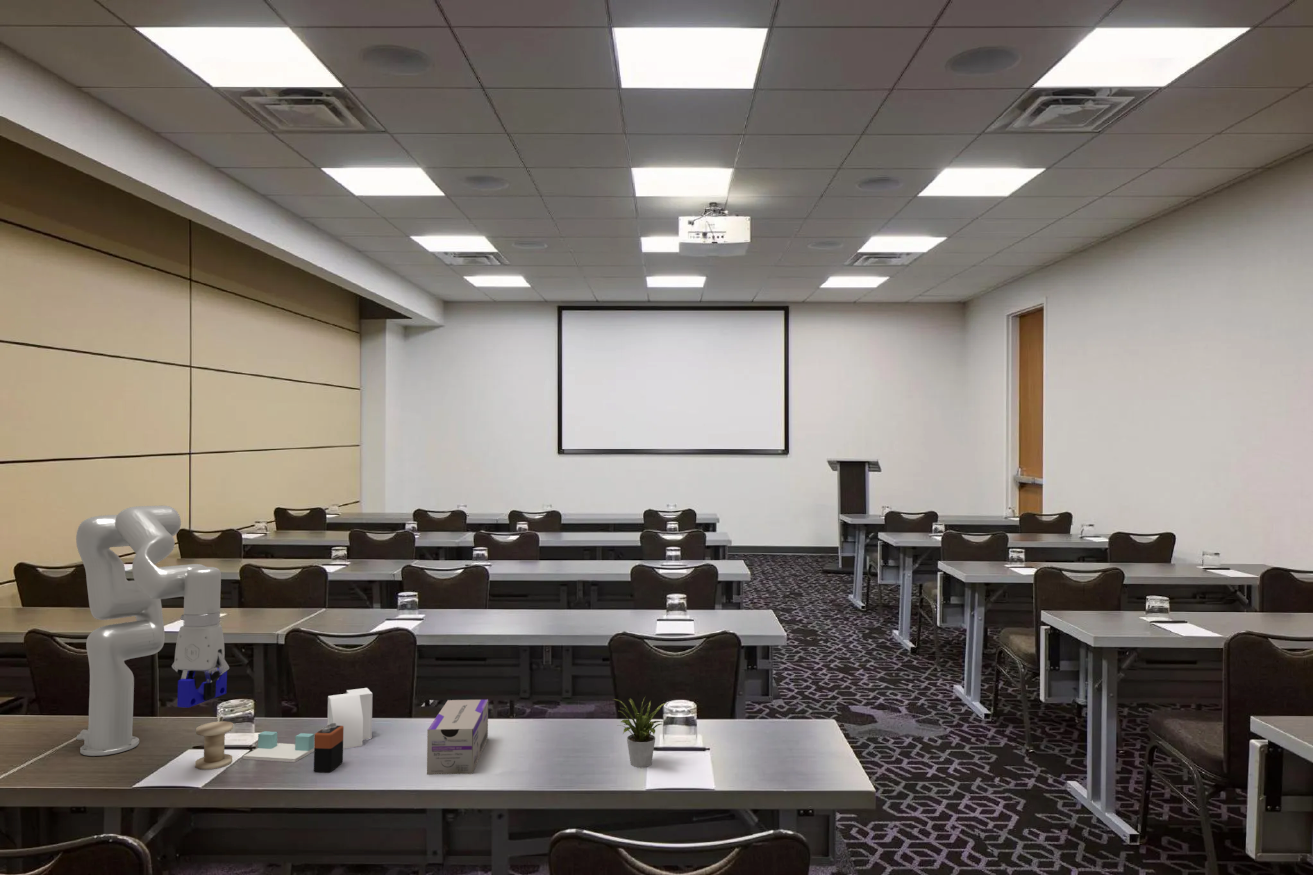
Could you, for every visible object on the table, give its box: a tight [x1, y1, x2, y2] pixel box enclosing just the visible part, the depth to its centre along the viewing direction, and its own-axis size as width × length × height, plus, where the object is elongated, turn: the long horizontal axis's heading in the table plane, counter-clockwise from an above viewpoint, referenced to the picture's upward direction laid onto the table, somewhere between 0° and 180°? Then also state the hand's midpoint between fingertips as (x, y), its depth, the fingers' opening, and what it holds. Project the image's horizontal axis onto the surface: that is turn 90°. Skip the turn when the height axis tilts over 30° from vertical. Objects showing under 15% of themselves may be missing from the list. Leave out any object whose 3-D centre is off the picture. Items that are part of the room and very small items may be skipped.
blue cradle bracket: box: [176, 667, 228, 708], centre depth 191 cm, size 12×4×6 cm, turn 169°
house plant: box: [613, 695, 668, 768], centre depth 199 cm, size 14×14×16 cm
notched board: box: [242, 730, 315, 763], centre depth 205 cm, size 14×10×4 cm
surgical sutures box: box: [426, 699, 489, 776], centre depth 204 cm, size 25×11×11 cm, turn 4°
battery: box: [313, 723, 344, 773], centre depth 196 cm, size 4×7×10 cm, turn 176°
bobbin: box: [194, 721, 234, 771], centre depth 198 cm, size 8×8×9 cm
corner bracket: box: [326, 687, 373, 750], centre depth 215 cm, size 11×11×12 cm
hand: (199, 697), depth 190 cm, fingers closed on blue cradle bracket, 4 cm apart
